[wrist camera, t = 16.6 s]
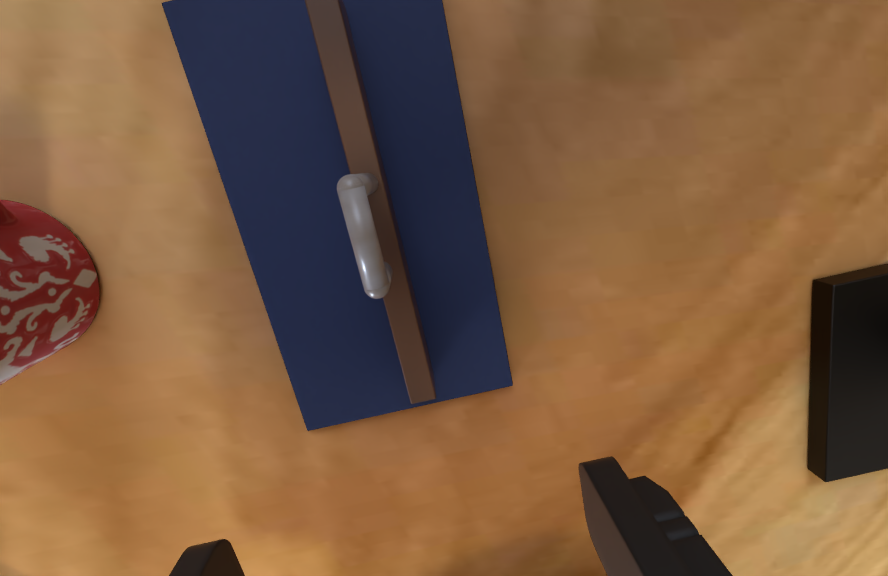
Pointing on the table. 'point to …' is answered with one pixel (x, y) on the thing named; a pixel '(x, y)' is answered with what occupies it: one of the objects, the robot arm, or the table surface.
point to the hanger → (370, 197)
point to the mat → (317, 202)
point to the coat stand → (849, 374)
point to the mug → (40, 287)
